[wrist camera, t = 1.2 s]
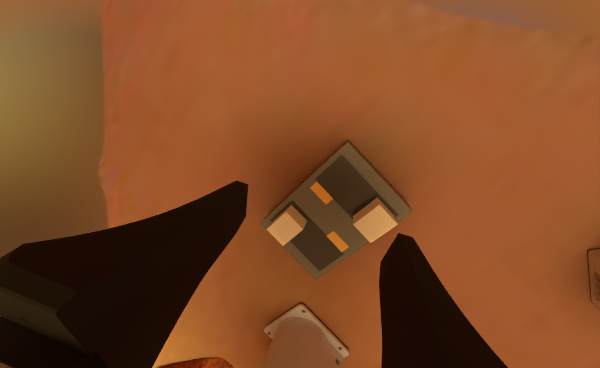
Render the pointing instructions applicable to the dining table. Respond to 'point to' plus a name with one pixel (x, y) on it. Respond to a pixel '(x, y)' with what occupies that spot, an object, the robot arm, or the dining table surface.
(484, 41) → the dining table surface
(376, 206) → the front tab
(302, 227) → the tab
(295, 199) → the switch board
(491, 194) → the dining table surface
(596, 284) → the coffee box
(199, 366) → the slice of bread
